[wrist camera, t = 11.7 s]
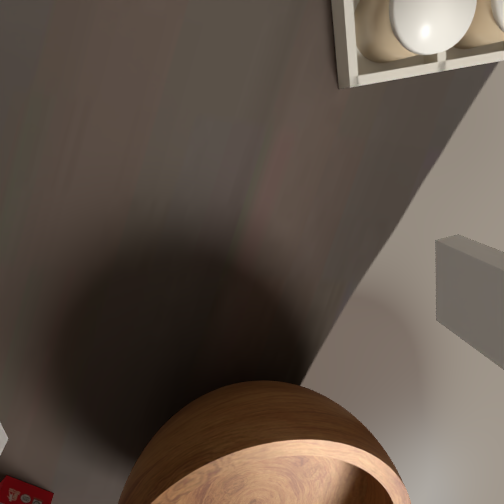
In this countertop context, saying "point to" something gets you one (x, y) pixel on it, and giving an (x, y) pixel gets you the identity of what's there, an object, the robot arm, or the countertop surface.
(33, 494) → the food packaging
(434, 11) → the paper cup
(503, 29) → the paper cup
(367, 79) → the carrier
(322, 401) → the bowl
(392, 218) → the countertop surface
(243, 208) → the countertop surface
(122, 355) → the countertop surface
